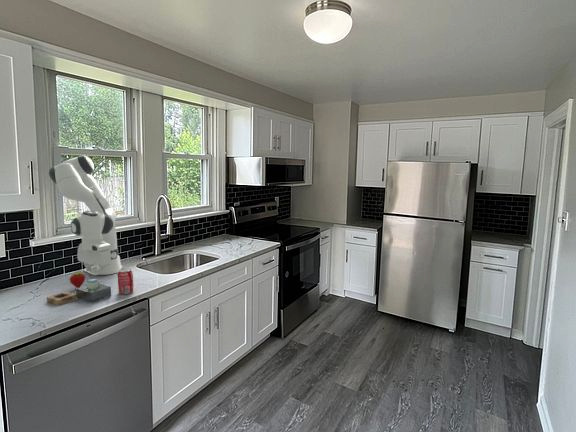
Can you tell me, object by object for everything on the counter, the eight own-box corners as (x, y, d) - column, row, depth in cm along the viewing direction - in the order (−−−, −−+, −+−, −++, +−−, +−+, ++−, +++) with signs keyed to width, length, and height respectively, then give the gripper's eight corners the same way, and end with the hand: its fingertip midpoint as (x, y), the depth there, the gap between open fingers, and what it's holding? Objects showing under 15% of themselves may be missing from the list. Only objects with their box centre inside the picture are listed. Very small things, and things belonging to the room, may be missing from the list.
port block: (76, 298, 162) (75, 288, 162) (95, 291, 171) (95, 282, 171) (91, 303, 157) (91, 292, 157) (111, 296, 166) (110, 286, 165)
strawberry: (67, 289, 174) (66, 271, 172) (81, 284, 181) (79, 267, 179) (75, 291, 172) (74, 272, 170) (88, 286, 179) (87, 268, 177)
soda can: (128, 289, 176) (127, 267, 175) (136, 291, 173) (135, 269, 171) (115, 293, 170) (114, 270, 169) (123, 296, 167) (122, 273, 165)
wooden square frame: (47, 302, 157) (46, 297, 157) (65, 296, 165) (65, 291, 165) (57, 305, 154) (57, 300, 153) (76, 299, 161) (76, 294, 161)
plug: (88, 297, 164) (87, 280, 162) (94, 295, 166) (93, 278, 165) (92, 299, 162) (91, 281, 161) (98, 296, 165) (97, 279, 164)
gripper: (72, 243, 162) (74, 270, 164) (100, 248, 154) (102, 277, 156) (85, 241, 168) (87, 267, 170) (112, 245, 160) (114, 273, 162)
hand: (94, 272), depth 163 cm, fingers open, 8 cm apart
